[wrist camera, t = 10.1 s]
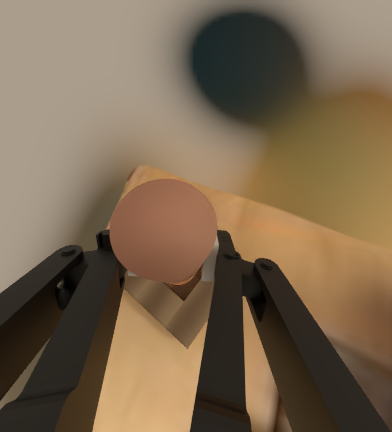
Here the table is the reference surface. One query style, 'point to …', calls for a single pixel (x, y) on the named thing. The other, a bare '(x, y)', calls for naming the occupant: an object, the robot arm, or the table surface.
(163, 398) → the table surface
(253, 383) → the table surface
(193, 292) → the socket block
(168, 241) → the pin
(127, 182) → the table surface
